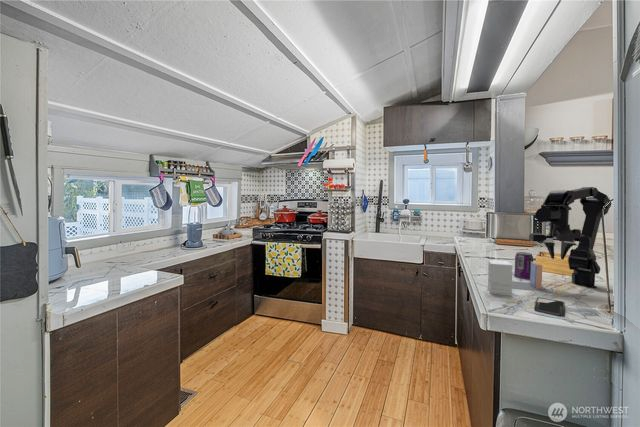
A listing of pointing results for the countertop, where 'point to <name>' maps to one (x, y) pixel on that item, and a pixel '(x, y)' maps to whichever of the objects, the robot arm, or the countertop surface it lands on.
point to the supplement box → (500, 277)
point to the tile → (536, 275)
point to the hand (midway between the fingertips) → (557, 259)
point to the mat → (526, 286)
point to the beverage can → (523, 265)
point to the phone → (550, 307)
